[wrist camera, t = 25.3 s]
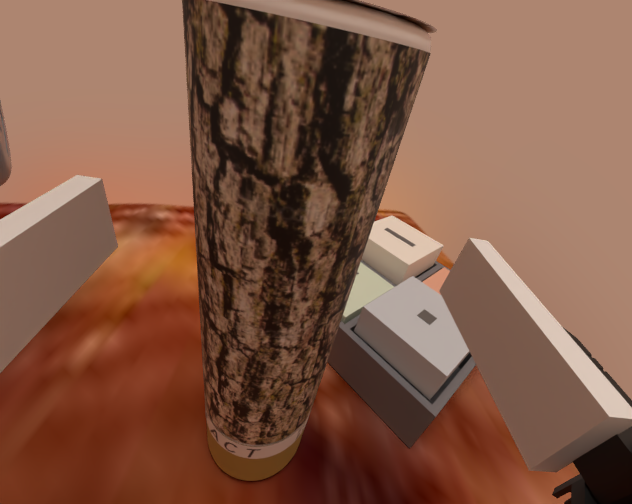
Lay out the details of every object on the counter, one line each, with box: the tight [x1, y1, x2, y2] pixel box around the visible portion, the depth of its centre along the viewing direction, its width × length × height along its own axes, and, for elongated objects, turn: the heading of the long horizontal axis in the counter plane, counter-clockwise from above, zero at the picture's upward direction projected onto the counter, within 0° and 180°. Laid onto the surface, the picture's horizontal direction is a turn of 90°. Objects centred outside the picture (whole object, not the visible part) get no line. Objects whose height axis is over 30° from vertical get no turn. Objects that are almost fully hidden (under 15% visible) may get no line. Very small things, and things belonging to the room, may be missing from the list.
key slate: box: [354, 276, 470, 400], centre depth 25 cm, size 8×8×3 cm
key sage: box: [341, 262, 394, 324], centre depth 31 cm, size 8×8×3 cm
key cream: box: [361, 216, 443, 285], centre depth 35 cm, size 8×8×3 cm
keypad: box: [327, 260, 476, 449], centre depth 32 cm, size 18×18×5 cm
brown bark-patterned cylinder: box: [182, 0, 436, 481], centre depth 15 cm, size 7×7×25 cm
